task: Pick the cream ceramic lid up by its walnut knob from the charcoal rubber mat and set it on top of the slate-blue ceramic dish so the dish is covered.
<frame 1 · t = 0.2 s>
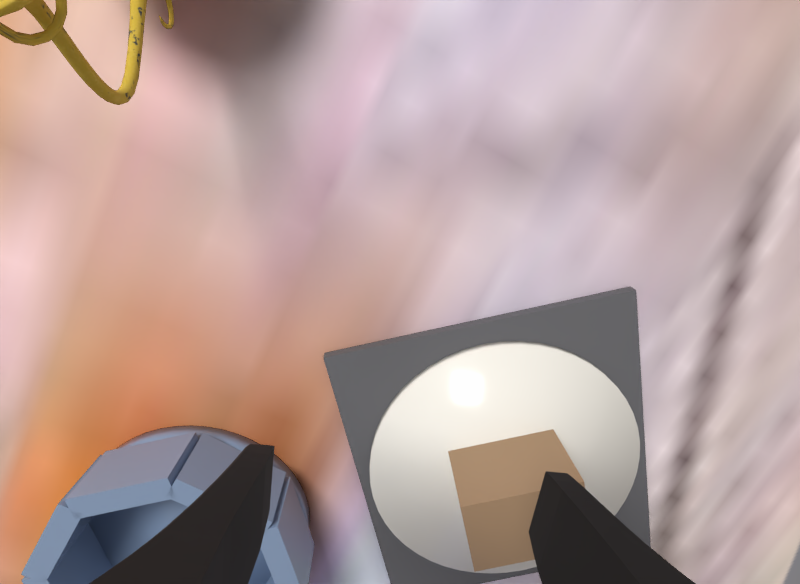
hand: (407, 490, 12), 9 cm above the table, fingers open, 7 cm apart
dish: (200, 518, 24), on the table
lid: (502, 462, 23), resting on mat
mat: (500, 455, 24), on the table
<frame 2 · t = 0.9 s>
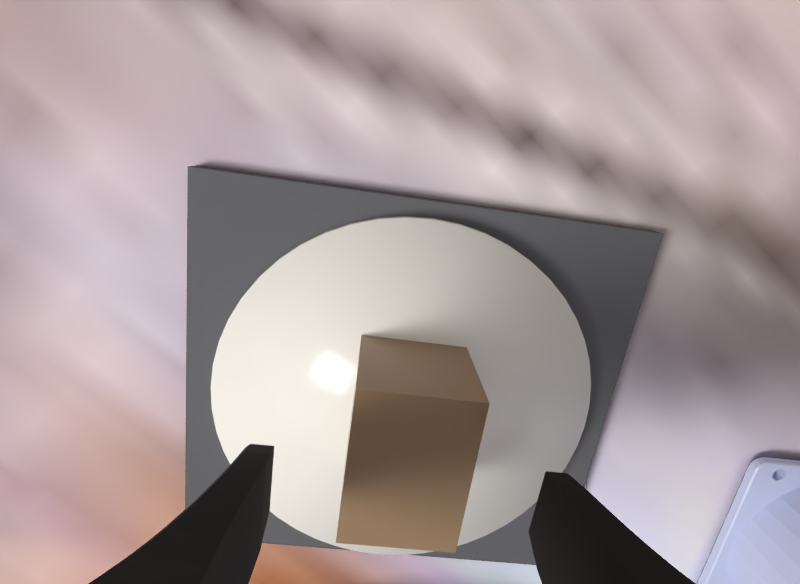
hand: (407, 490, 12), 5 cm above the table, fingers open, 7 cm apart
lid: (402, 398, 17), resting on mat
mat: (402, 391, 17), on the table
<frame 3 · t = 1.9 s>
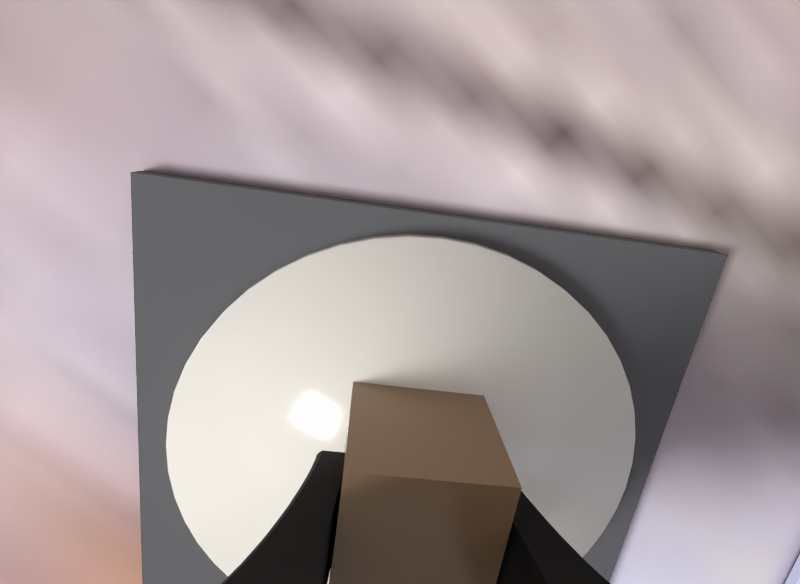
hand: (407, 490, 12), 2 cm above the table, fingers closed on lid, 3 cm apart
lid: (404, 453, 14), resting on mat, touching gripper
mat: (403, 443, 14), on the table
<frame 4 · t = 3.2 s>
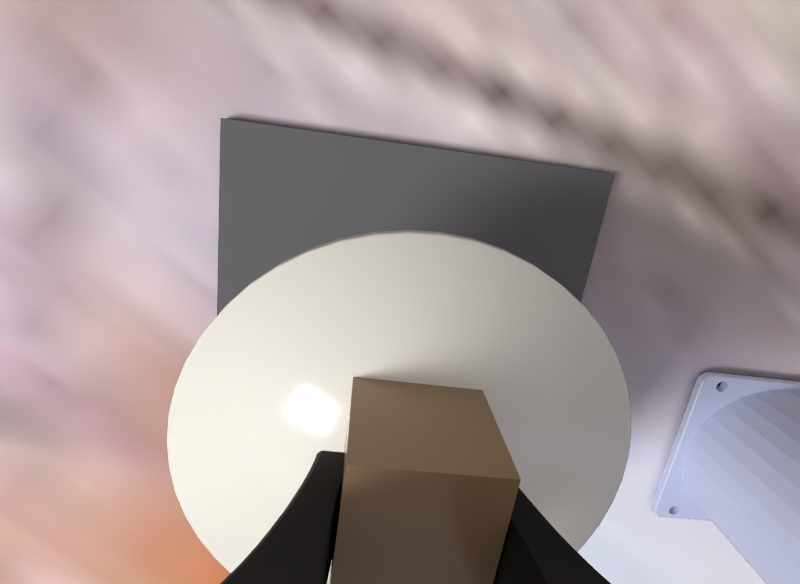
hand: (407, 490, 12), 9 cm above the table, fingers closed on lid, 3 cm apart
lid: (403, 448, 14), point 7 cm above the table, touching gripper
mat: (399, 315, 20), on the table
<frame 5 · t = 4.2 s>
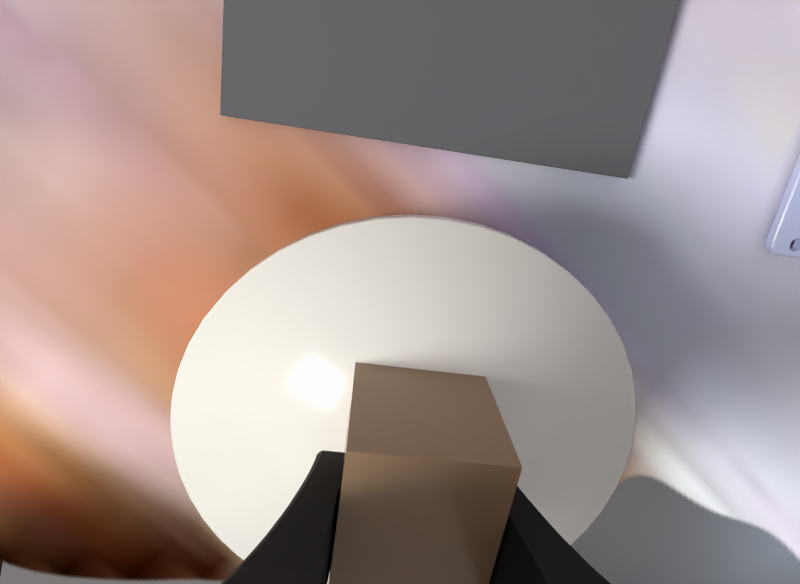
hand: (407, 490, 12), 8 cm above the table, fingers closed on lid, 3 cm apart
lid: (406, 433, 14), point 6 cm above the table, touching gripper
when the fingers open (7 cm above the table, at t = 4.8 s): lid stays where it is, resting on dish.
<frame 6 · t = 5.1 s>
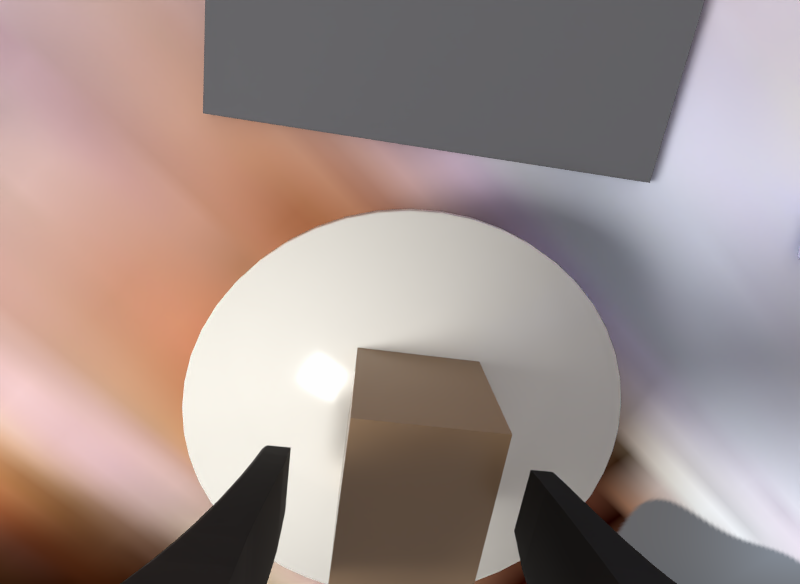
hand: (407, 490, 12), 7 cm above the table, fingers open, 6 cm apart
lid: (404, 418, 15), point 4 cm above the table, touching dish
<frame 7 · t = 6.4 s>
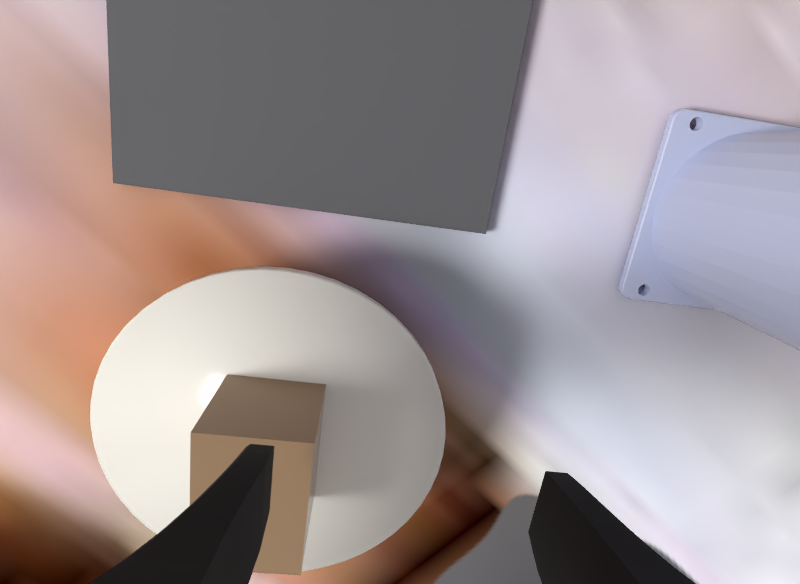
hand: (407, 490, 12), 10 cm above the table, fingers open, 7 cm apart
lid: (275, 429, 18), point 4 cm above the table, touching dish
mat: (323, 19, 18), on the table
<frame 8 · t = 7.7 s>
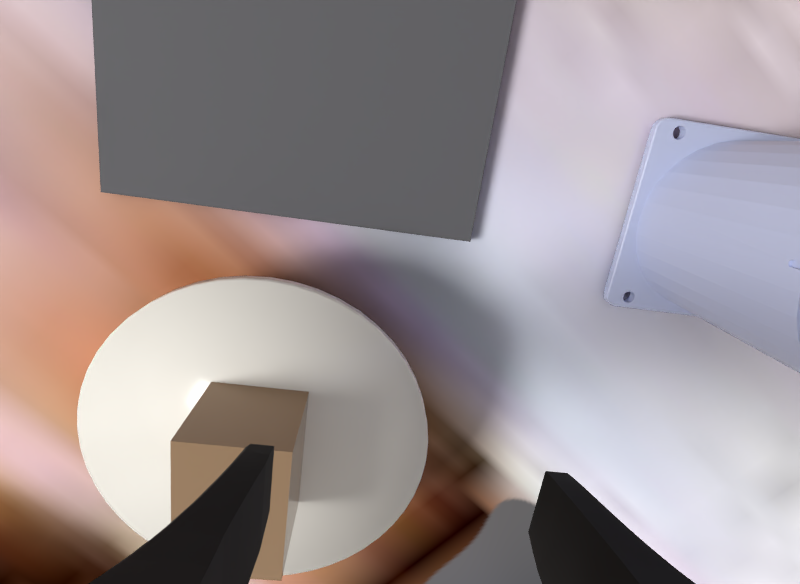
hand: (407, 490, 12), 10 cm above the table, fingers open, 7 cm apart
lid: (260, 435, 18), point 4 cm above the table, touching dish
mat: (307, 30, 18), on the table
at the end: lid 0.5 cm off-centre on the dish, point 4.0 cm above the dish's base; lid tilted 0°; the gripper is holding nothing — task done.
